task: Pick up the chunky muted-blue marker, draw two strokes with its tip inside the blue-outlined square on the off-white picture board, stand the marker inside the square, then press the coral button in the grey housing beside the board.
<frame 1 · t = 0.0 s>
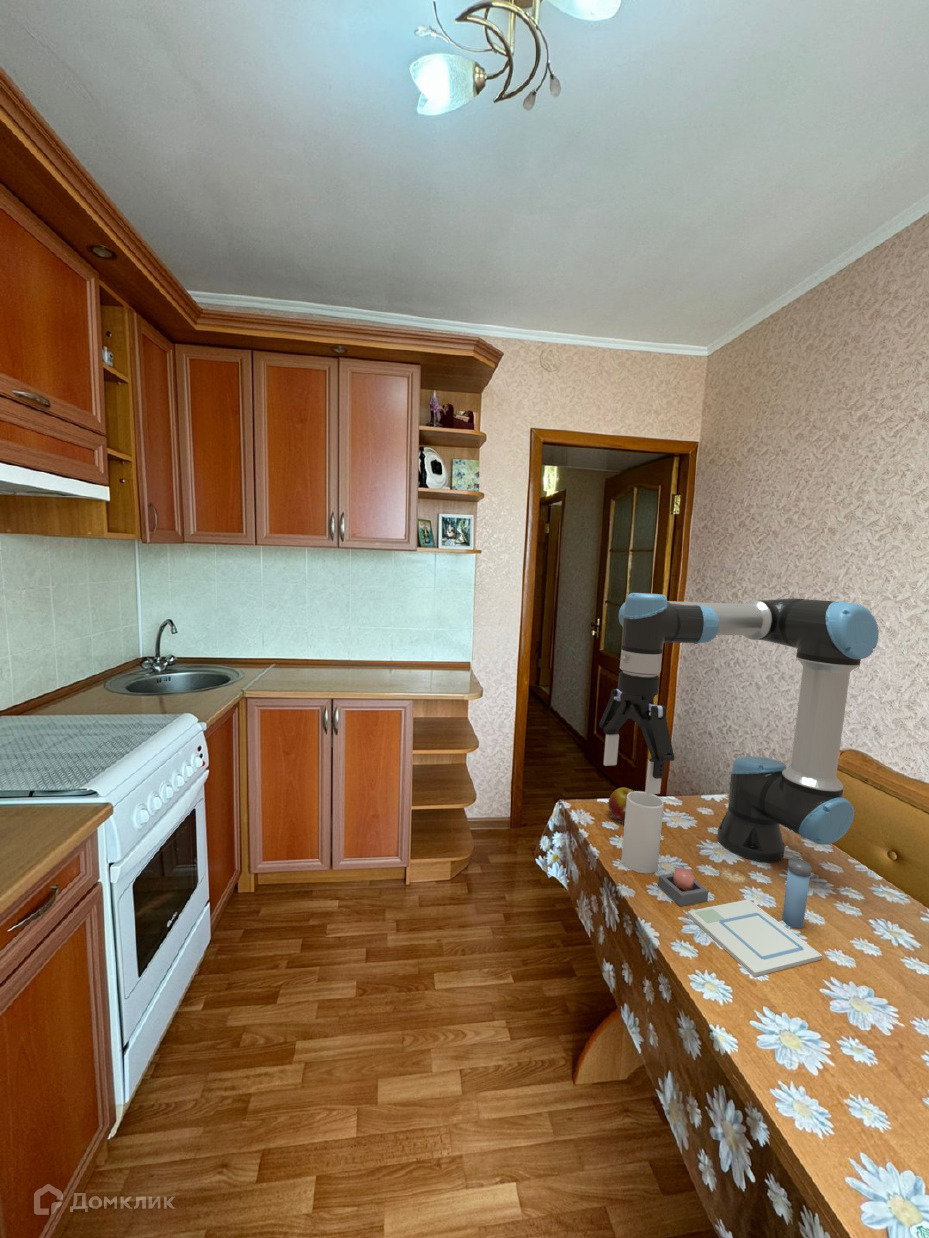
hand: (629, 778, 99), 28 cm above the table, fingers open, 13 cm apart
button housing: (682, 893, 109), on the table
cup: (639, 863, 119), on the table
fruit: (624, 818, 141), on the table
button: (683, 878, 108), point 3 cm above the table, slide at 0.0 cm
board: (751, 935, 97), on the table
marker: (792, 921, 101), on the table
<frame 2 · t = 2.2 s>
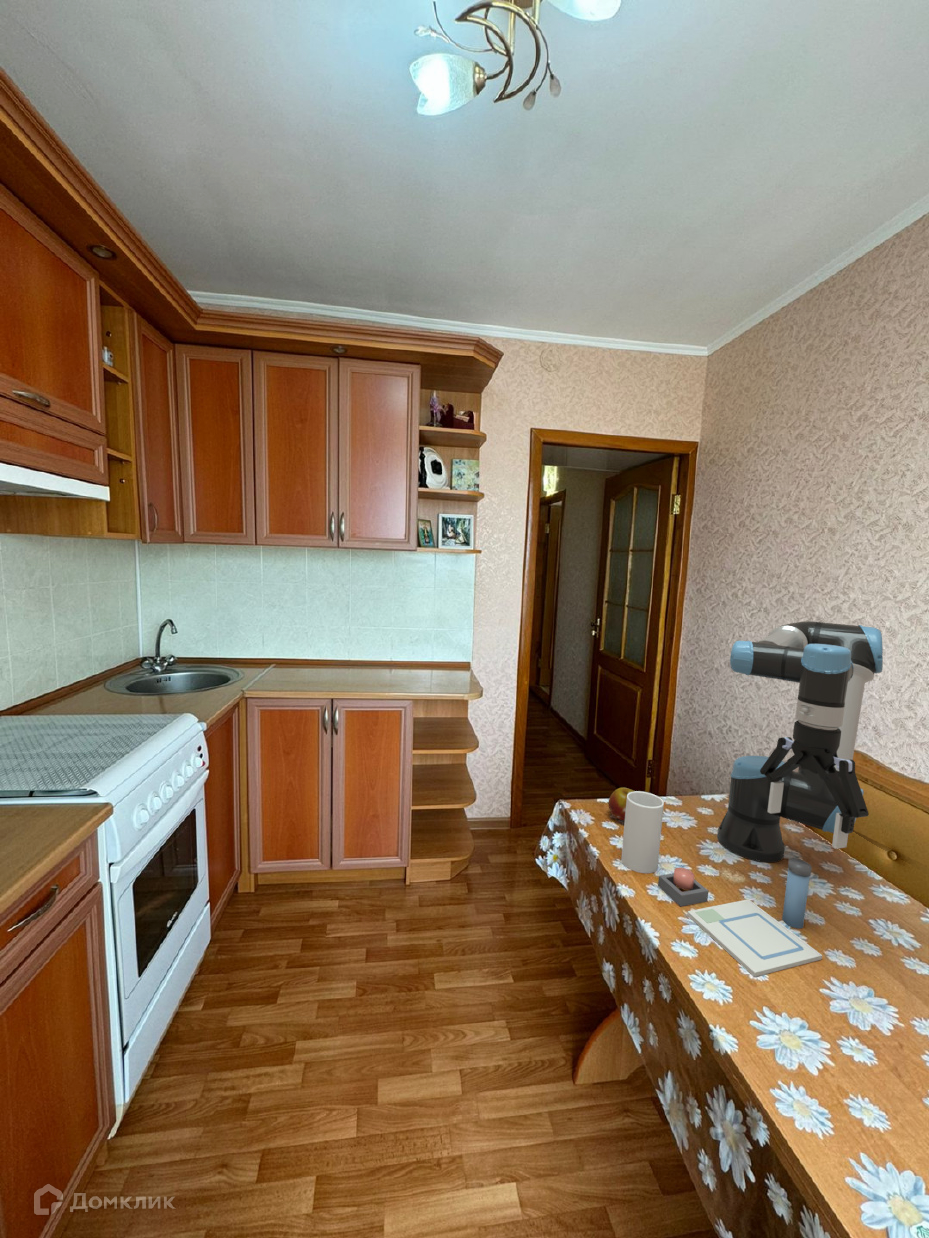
hand: (804, 828, 99), 20 cm above the table, fingers open, 13 cm apart
nothing on the table moved.
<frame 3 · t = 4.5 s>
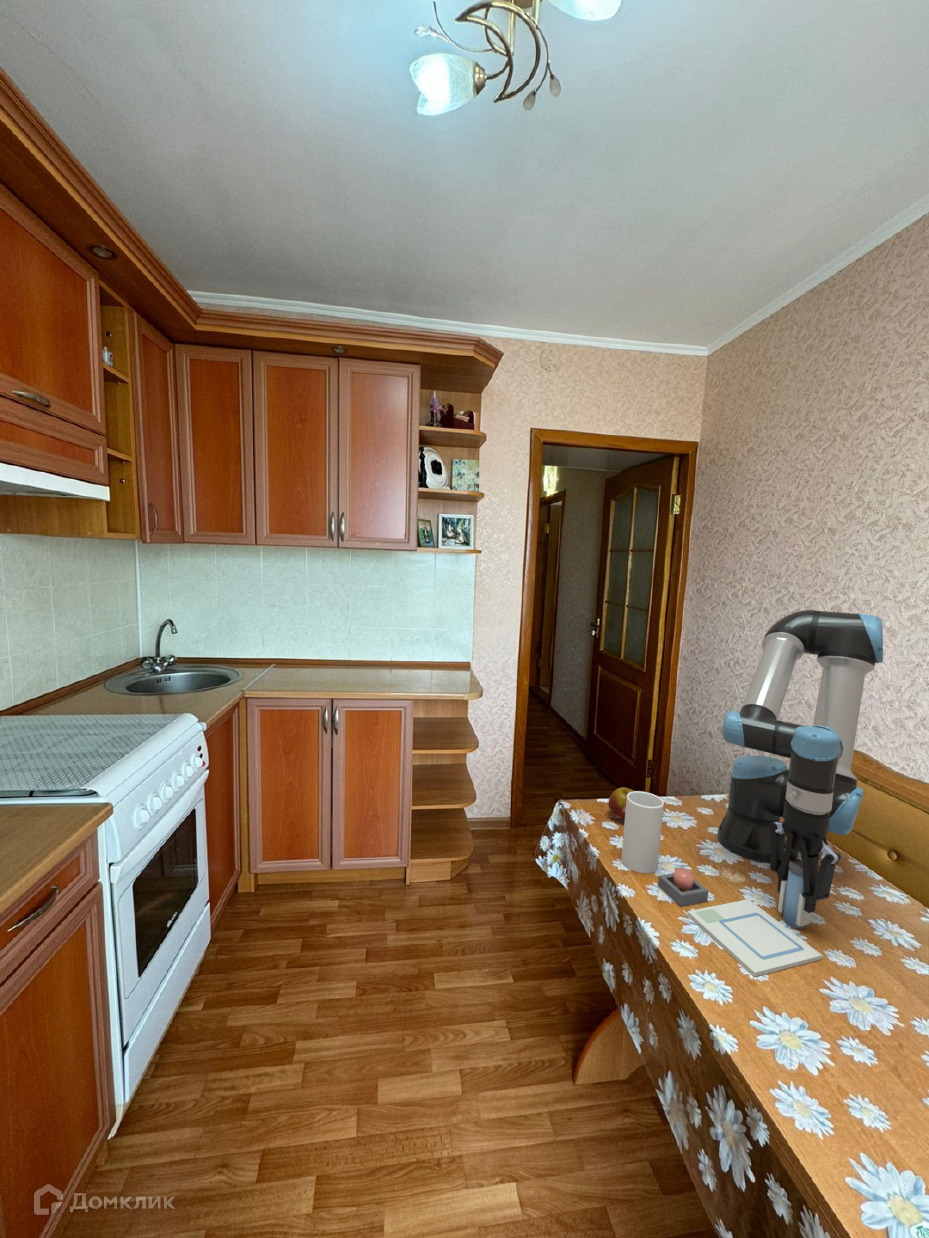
hand: (793, 916, 101), 1 cm above the table, fingers closed on marker, 3 cm apart
marker: (793, 922, 101), on the table, touching gripper
everything else where it was.
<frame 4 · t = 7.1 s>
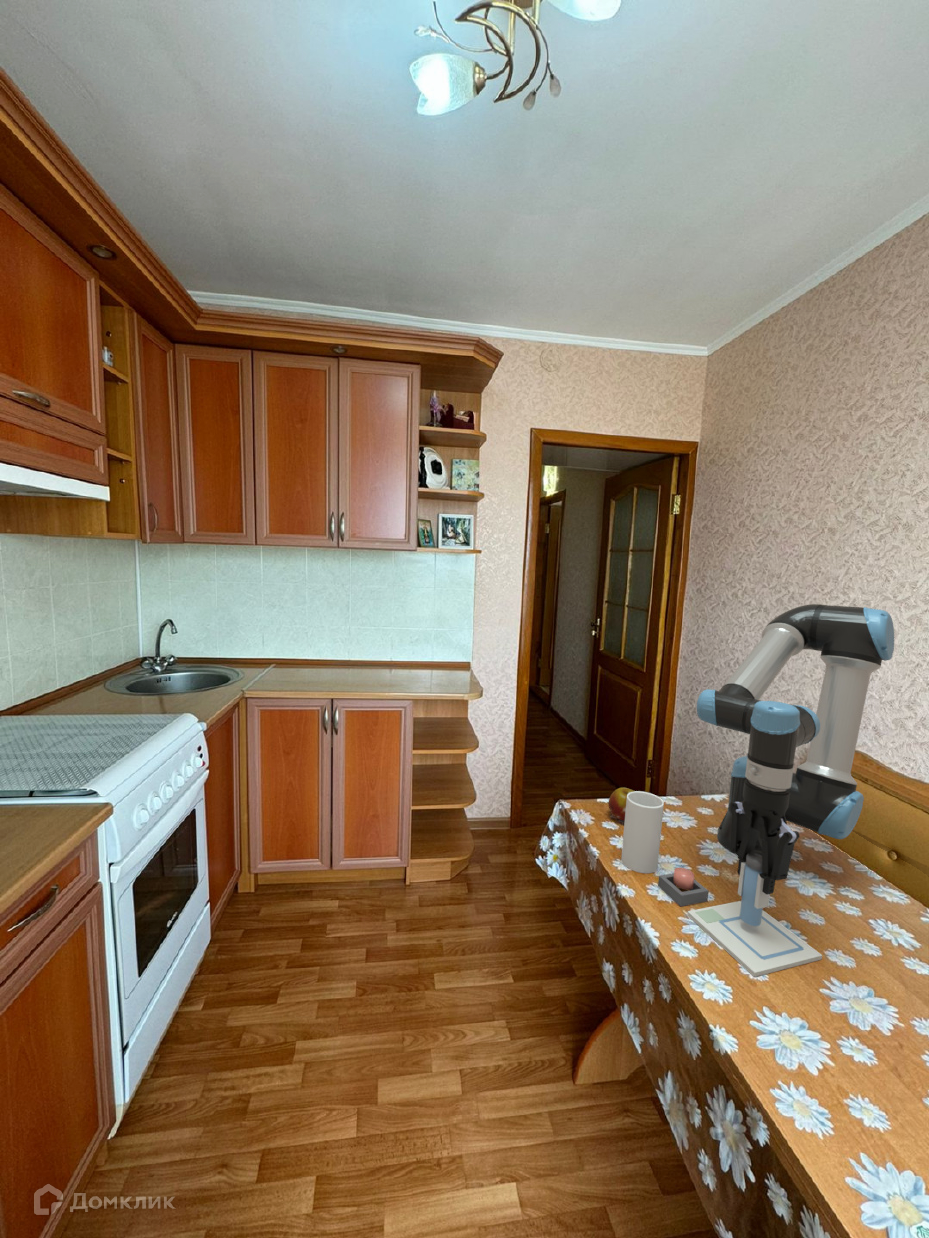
hand: (752, 899, 97), 7 cm above the table, fingers closed on marker, 3 cm apart
marker: (750, 919, 98), point 3 cm above the table, touching gripper
everything else where it was.
when the fingers open (2 cm above the table, at t = 10.0 s): marker stays where it is, resting on board.
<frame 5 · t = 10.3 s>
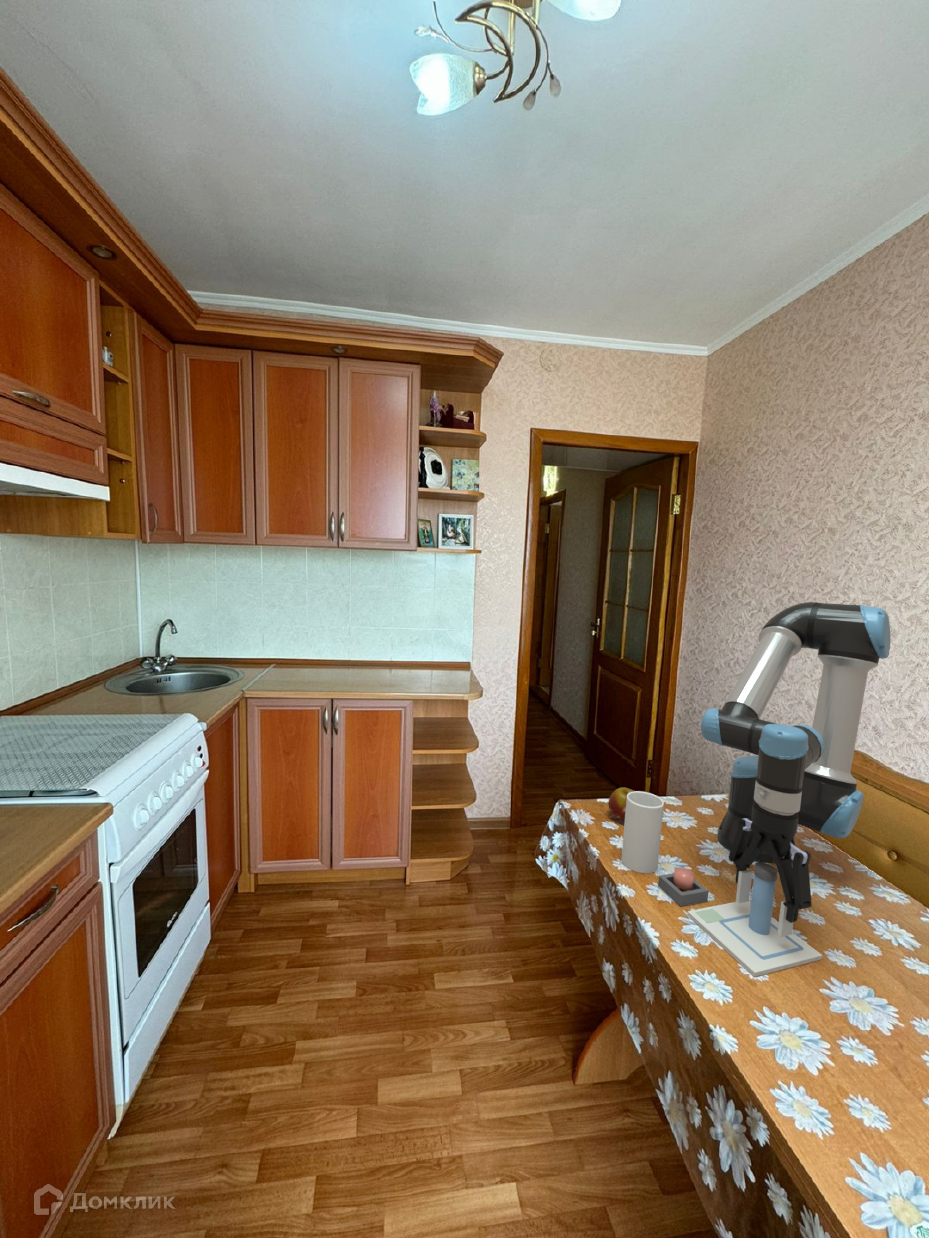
hand: (762, 917, 98), 3 cm above the table, fingers open, 9 cm apart
marker: (758, 928, 98), point 1 cm above the table, touching board
everything else where it was.
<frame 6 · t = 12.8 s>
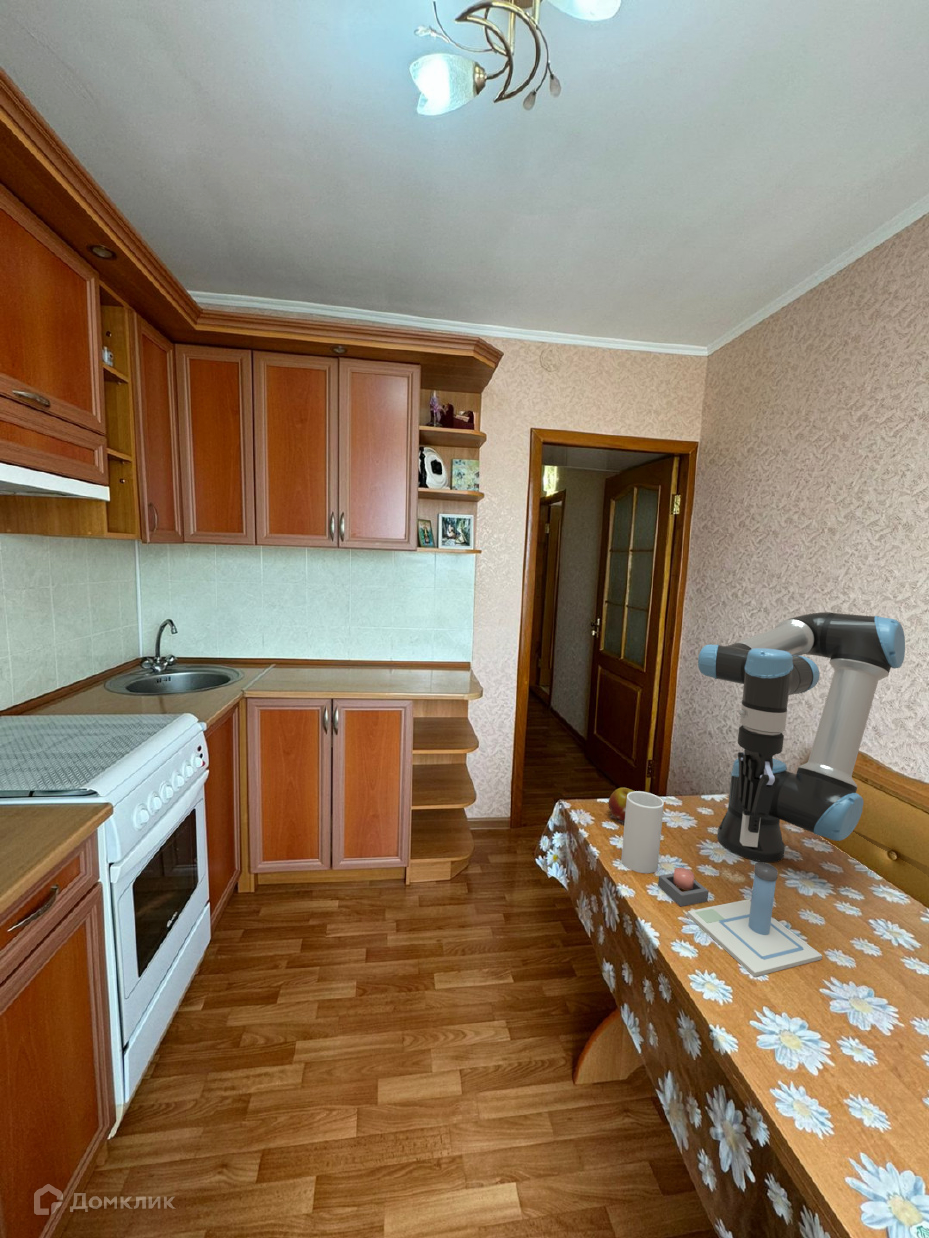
hand: (748, 844, 99), 16 cm above the table, fingers closed
nothing on the table moved.
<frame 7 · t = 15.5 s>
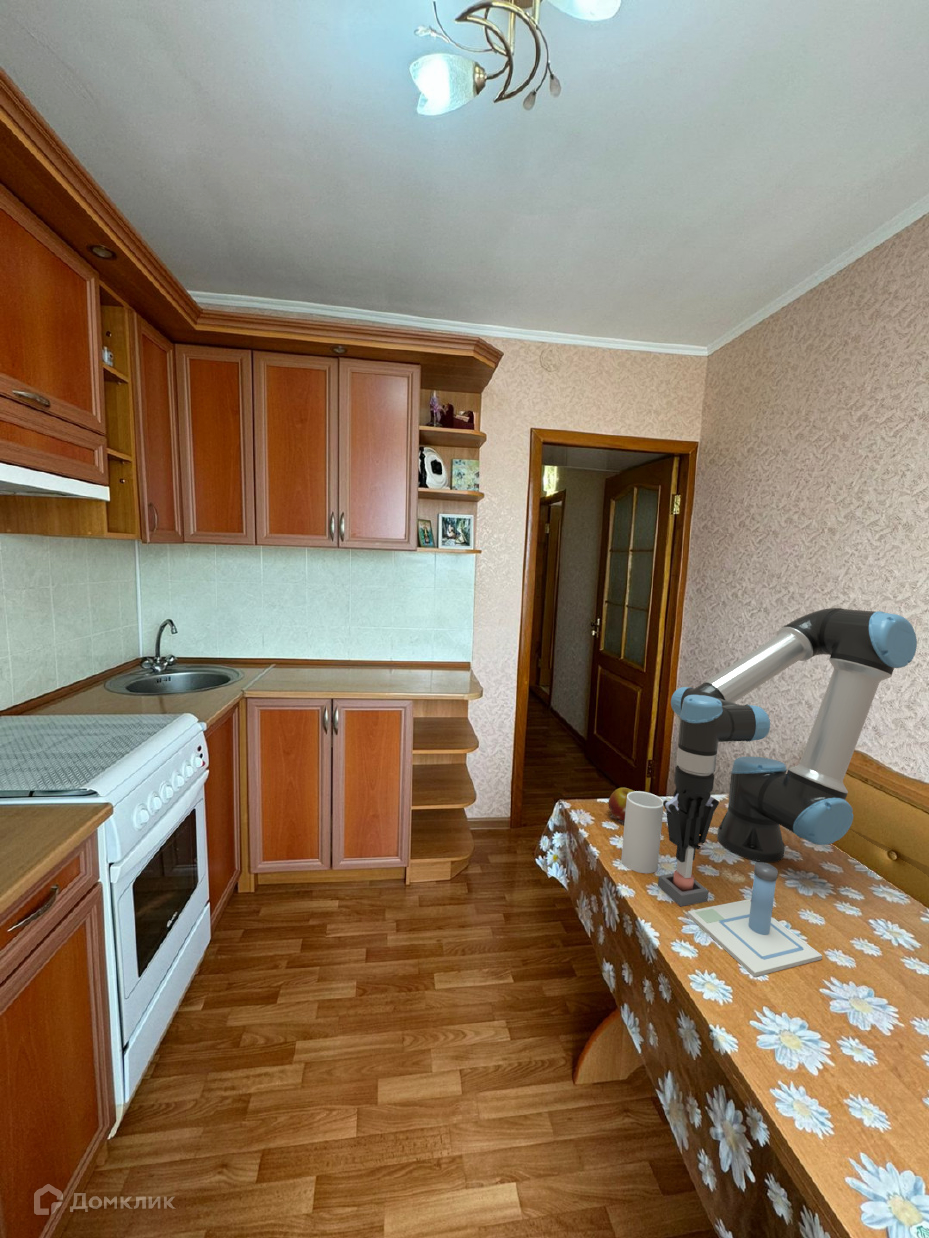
hand: (683, 874, 108), 4 cm above the table, fingers closed
button: (683, 880, 108), point 3 cm above the table, slide at 0.5 cm, touching gripper
everything else where it was.
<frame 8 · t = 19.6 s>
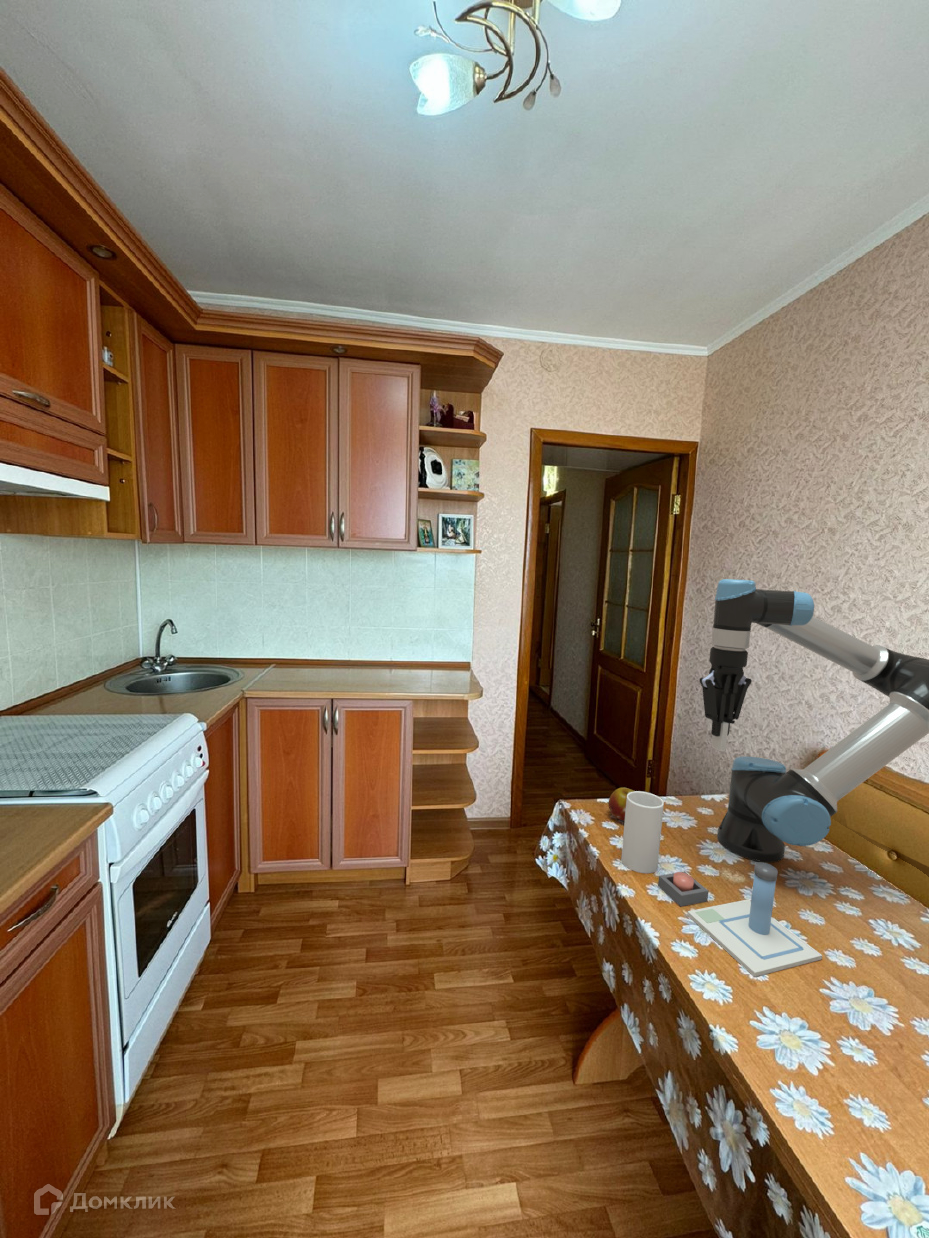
hand: (718, 749, 115), 29 cm above the table, fingers closed
button: (683, 882, 108), point 2 cm above the table, slide at 1.1 cm
everything else where it was.
at the end: marker inside the target area (2.1 cm from its centre), point 0.8 cm above the table; button slide at 1.1 cm; the gripper is holding nothing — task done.
